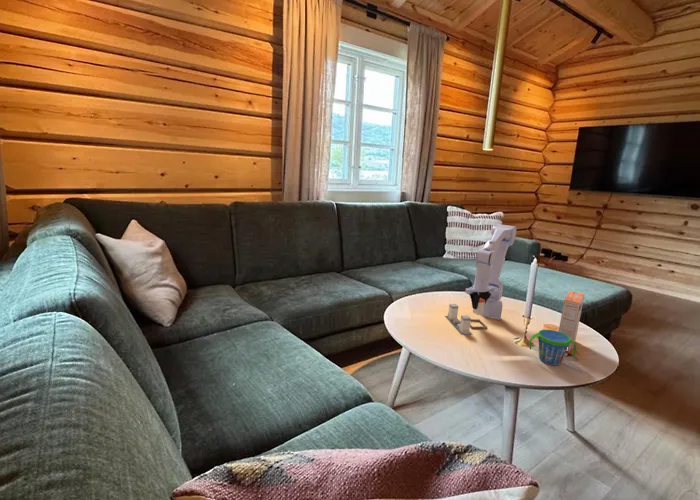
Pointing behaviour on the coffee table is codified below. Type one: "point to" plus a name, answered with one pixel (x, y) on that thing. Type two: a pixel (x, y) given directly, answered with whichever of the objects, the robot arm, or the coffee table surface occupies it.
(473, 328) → the tray
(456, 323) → the block
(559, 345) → the snack cup
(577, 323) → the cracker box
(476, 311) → the red cap fuse
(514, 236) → the robot arm
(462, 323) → the fuse slot
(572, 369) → the coffee table surface
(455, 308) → the block
